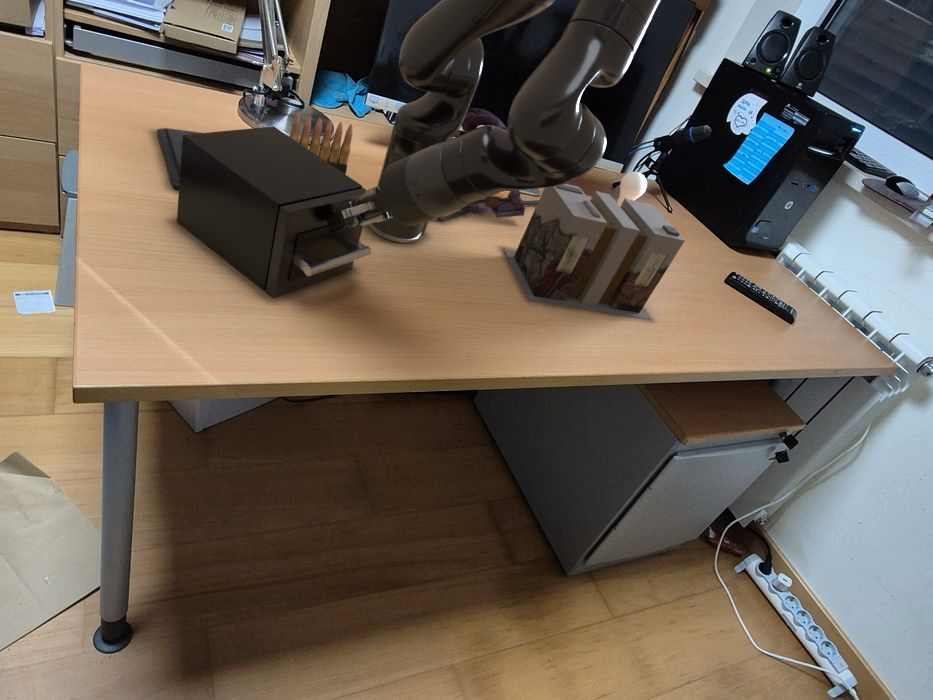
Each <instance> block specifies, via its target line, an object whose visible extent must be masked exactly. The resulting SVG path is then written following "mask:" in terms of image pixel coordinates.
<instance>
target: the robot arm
mask: <svg viewBox="0 0 933 700" xmlns="http://www.w3.org/2000/svg"><path fill="white" fill-rule="evenodd" d="M556 1H557V0H440V1H439V2H438V3H437V4H436V5H434V6H433V7H432V8H431V9H429V10H428V11H427V12H426V13H425V14H424V15H422V16H421V17H420V18H419V19H418V20H417V21H416V22H415V23H414V24H413V25H412V27H410V29H409V30H408V32H407V34H406V35H405V36H404V37H405V38H404V40H403V41H402V44H401V47H400V51H399V56H398V68H399V71H400V73H401V76H402V78H403V79H404V81H405V82H406V83H407V84H408V85H410V86H411V87H412V88H415V89H417V90H421V91H423V92H426V93H425V94H424V95H423V96H422V97H420V98H418V99H416V100H414V101H413V100H412V101H411V102H408V103H405V104H403V105H401V106H400V107H399V109H398V110H397V113H396V115H395V118H394V123H393V126H392V130H391V133H390V137H389V141H388V144H387V147H386V148H387V149H386V152H385V156H384V161H383V163H382V167H381V171H380V173H379V178H378V182H377V185H376V186H373V187H371V188H368V189H366V191H365V193H364V194H363V195H360V196H358V197H356V198H354V199H352V200H351V202H345V201H344V202H341V203H342V204H339V205H338V207H337V208H336V209H335V210H336V212H335V213H333V214H331V215H328V216H327V217H326V221H327V224H328V227H329V229H330V231H331V232H337V231H340V230H343V229H345V228H346V229H347V228H349V227H351V226H352V227H354V226H356V225H357V224H359V225H360V226H363V227H364V226H368V227H369V229H370V230H371V231H372V232H373V233H374V234H376V235H377V236H379V237H381V238H383V239H385V240H388V241H390V242H394V243H399V244H412V243H416V242H417V241H419V240H420V238H421V236H424V235H425V233H426V229H427V227H428V224H429V223H430V222H433V220H434V219H436V220H437V221H440V222H446V221H449V220H452V219H454V218H456V217H458V216H461V215H463V214H468V213H473V212H472V211H475V210H476V209H475V208H474V207H470V208H466V209H461V208H463V207H465V206H467V205H468V204H470V203H473V202H475V201H478V200H481V199H484V198H487V197H489V196H492V195H495V194H497V193H499V192H502V191H503V192H508V191H510V192H511V191H512V190H519V191H527V190H537V189H544V188H546V187H554V186H559V185H563V184H570V183H574V182H575V181H577V180H579V179H582V178H583V177H584V176H587V174H589V173H590V172H591V171H593V170H594V168H596V166H597V165H598V164H599V163H600V162H601V160H602V158H603V156H604V153H605V152H606V147H607V133H606V131H605V128H604V126H603V124H602V123H601V121H600V120H599V119H598V118H597V116H595V114H593V113H592V112H591V111H590V109H589V108H588V107H587V106H586V105H585V104H584V103H583V102H582V100H581V97H582V95H583V93H584V91H585V89H586V88H587V87H588V86H591V87H594V88H603V89H604V88H609V87H613V86H615V85H617V84H618V83H619V82H620V81H621V80H622V79H623V77H624V75H625V74H626V73H627V70H628V69H629V67H630V65H631V63H632V61H633V58H634V57H635V55H636V52H637V50H638V49H639V47H640V45H641V42H642V40H643V38H644V36H645V34H646V32H647V29H648V27H649V25H650V23H651V22H652V19H653V17H654V15H655V13H656V11H657V9H658V7H659V5H660V3H661V1H662V0H577V1H578V2H577V4H576V6H575V8H574V10H573V13H572V14H571V16H570V18H569V21H568V23H567V25H566V27H565V29H564V31H563V33H562V36H561V38H560V39H559V40H558V41H557V43H556V44H555V46H554V47H553V48H551V50H550V51H549V52H548V54H547V55H546V56H545V57H544V58H543V60H542V61H541V62H540V64H539V65H538V66H537V68H535V70H534V71H533V72H532V73H531V74H530V76H529V77H528V78H527V80H525V82H524V83H523V84H522V86H521V87H520V88H519V90H518V91H517V93H516V94H515V96H514V97H513V99H512V102H511V104H510V107H509V111H508V116H507V128H508V131H506V130H504V129H502V128H499V127H496V126H493V125H489V124H484V125H480V126H478V127H477V128H475V129H473V130H471V131H468V132H464V133H462V134H459V135H457V136H455V135H456V134H457V133H458V131H459V130H460V129H461V128H462V123H463V121H464V118H465V116H466V113H467V111H468V110H469V109H470V105H471V103H472V100H473V98H474V95H475V93H476V90H477V88H478V86H479V83H480V79H481V76H482V72H483V68H484V59H485V51H484V45H483V42H482V40H481V38H483V37H485V36H488V35H490V34H492V33H496V32H498V31H501V30H503V29H506V28H508V27H512V26H515V25H517V24H519V23H521V22H525V21H526V20H529V19H531V18H533V17H535V16H537V15H538V14H540V13H542V12H543V11H545V10H547V9H548V8H549V7H551V6H552V4H554V3H555V2H556ZM454 136H455V137H454ZM538 201H539V199H538V200H523V202H524V206H532V205H534V206H535V205H537V204H538Z"/></svg>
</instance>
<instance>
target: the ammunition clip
mask: <svg viewBox="0 0 933 700" xmlns="http://www.w3.org/2000/svg"><path fill="white" fill-rule="evenodd" d="M300 128H301V115H300V113H299V112H297V114H295V117H294V119H293V122H292V126H291V130H290V133H289V135H288V136H289V137H290V138H292V139H293V140H295V141H296V142H298V143H299V144H301V145H302V146H304V147H305V148H307V149H308V150H310V151H311V152H313V153H314V154H316V155H317V156H319V157H320V158H322V159H323V160H325V161H326V162H328V163H329V164H331V165H332V166H334V167H335V168H337V169H338V170H340V171H341V172H343V173H344V174H346V175H347V169H348V162H349V158H350V154H351V144H352V138H353V124H352V123H351V124H349V126H348V127H347V129H346V132H345V134H344V137H343V122H342V121H340V122H339V123H338V125H337V127H336V129H335V132H334V137H333V139H332V134H333V120H332V119H329V121H328V122H327V124H326V126H325V129H324V132H323V137H322V131H323V130H322V129H323V120H322V118H321V117H319V118H318V119H317V121H316V123H315V126H314V129H313V133H312V137H311V129H312V117H311V115H308V116H307V117H306V119H305V121H304V124H303V127H302V128H303V129H302V131H301V135H300ZM310 137H311V139H310ZM342 137H343V141H342ZM321 138H322V140H321ZM331 140H332V141H331ZM341 143H342V144H341Z"/></svg>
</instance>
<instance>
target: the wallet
mask: <svg viewBox="0 0 933 700" xmlns="http://www.w3.org/2000/svg"><path fill="white" fill-rule="evenodd" d="M198 133H200V132H198V131H191V130H184V129H177V128H169V127H168V128H167V127H162V128H157V129H156V134H157V139H158V141H159V145H160V148H161V151H162V154H163V158H164V160H165V164H166V169H167V171H168V176H169V180H170V184H171V185H172V187H173V189H176V190H178V191H179V182H180V167H181V152H182V141H183V140H182V139H183V135H188V134H198Z"/></svg>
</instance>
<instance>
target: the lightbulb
mask: <svg viewBox="0 0 933 700" xmlns="http://www.w3.org/2000/svg"><path fill="white" fill-rule="evenodd" d="M619 184H620V185H619V196H618V199H617V201H616V202H617V204H618V205H619V206H621V204H622V203H623V201H624V199H625V198H626V199H630V200H634V201H636V200H637V199H638V198H640V197H641V196H642V195H643V194H644V193H645V192H646V190H647V187H648V180H647V179H646V177H645V175H644V174H643V173H642V172H639V171H629V172H628V173H626V174H624V176H622V178H621V180H620V183H619Z"/></svg>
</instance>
